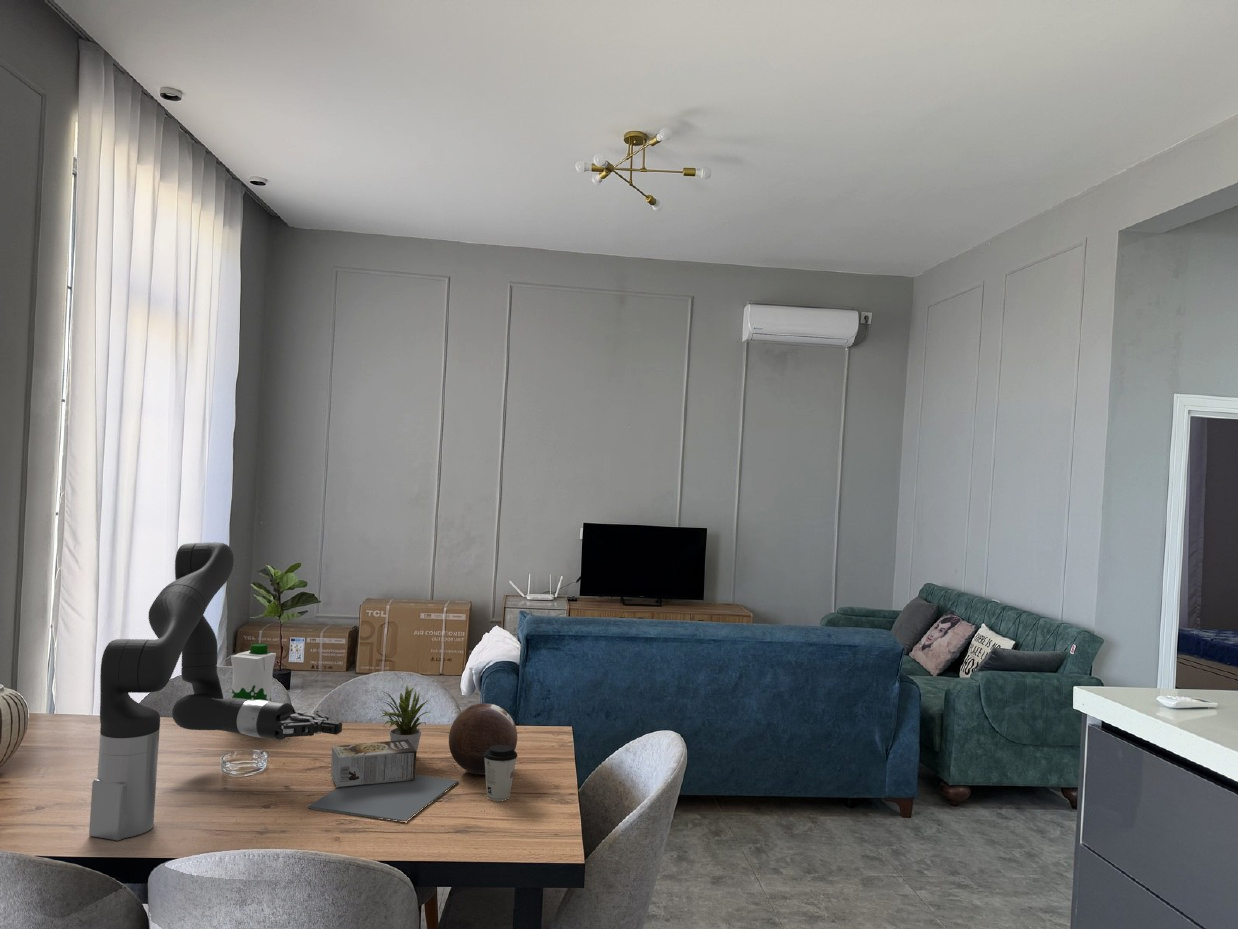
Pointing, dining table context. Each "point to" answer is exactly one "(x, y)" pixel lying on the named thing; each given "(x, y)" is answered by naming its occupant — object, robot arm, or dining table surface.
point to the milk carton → (253, 673)
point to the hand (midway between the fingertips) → (340, 728)
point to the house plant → (405, 718)
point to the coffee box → (373, 763)
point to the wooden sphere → (480, 735)
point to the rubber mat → (385, 798)
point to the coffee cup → (499, 771)
